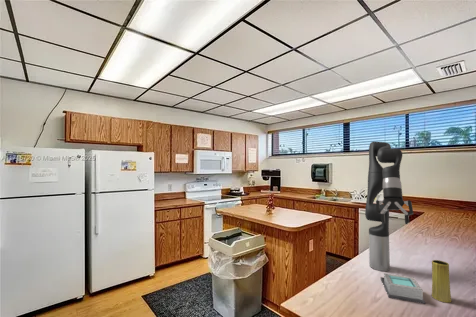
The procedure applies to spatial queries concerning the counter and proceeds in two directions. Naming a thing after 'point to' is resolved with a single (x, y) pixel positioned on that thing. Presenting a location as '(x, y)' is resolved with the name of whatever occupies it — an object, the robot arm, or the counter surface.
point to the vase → (440, 281)
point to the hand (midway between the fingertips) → (394, 223)
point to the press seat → (401, 282)
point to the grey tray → (403, 289)
